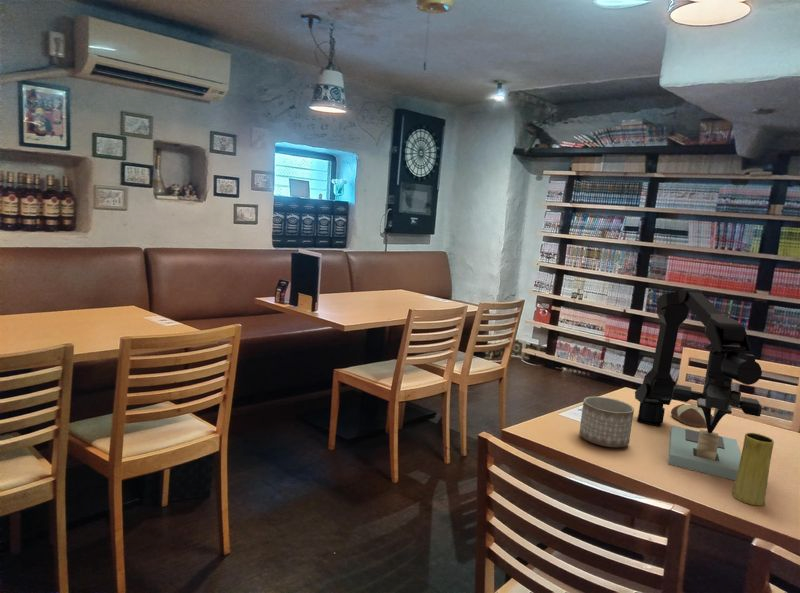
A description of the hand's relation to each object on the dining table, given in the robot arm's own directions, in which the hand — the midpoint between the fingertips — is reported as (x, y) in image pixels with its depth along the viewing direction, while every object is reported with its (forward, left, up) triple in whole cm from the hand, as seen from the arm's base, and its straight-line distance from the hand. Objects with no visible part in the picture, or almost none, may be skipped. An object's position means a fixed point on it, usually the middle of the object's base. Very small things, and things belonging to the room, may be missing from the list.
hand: (709, 432), depth 134 cm
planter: (-24, -1, -9) cm, 26 cm away
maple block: (0, 0, -8) cm, 8 cm away
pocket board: (0, +6, -8) cm, 10 cm away
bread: (-2, +35, -9) cm, 36 cm away
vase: (+8, -15, -8) cm, 19 cm away
